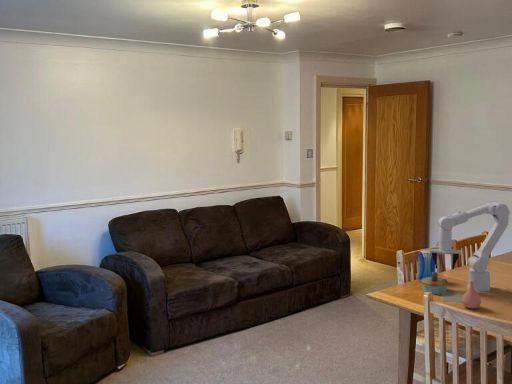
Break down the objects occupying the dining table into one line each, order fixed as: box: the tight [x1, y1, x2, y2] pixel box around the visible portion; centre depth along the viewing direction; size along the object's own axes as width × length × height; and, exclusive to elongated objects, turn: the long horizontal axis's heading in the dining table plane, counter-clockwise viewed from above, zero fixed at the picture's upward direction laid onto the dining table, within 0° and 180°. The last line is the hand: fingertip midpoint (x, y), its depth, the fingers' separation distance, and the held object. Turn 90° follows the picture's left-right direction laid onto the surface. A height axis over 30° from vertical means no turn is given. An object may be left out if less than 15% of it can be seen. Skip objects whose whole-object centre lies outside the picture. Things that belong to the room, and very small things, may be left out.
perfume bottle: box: [461, 282, 482, 309], centre depth 219 cm, size 8×8×12 cm
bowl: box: [421, 282, 448, 295], centre depth 244 cm, size 11×11×4 cm
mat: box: [441, 291, 466, 303], centre depth 234 cm, size 14×14×1 cm
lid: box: [421, 271, 449, 286], centre depth 243 cm, size 12×12×5 cm
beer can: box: [417, 249, 436, 283], centre depth 258 cm, size 8×8×16 cm
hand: (444, 268), depth 245 cm, fingers open, 7 cm apart
